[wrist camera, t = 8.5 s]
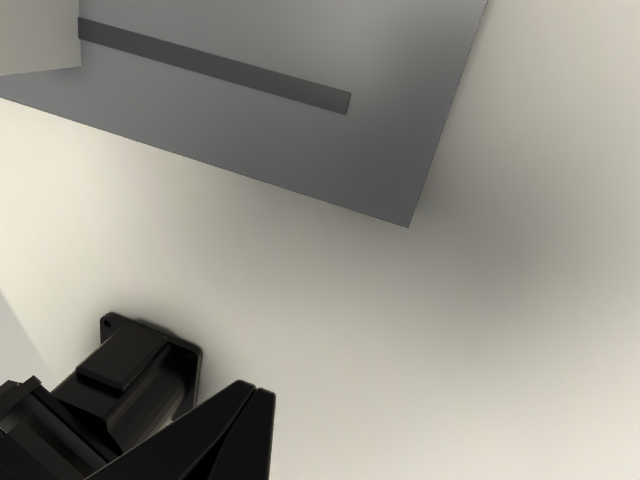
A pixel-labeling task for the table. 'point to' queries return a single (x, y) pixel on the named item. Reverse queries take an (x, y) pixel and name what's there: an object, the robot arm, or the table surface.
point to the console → (255, 84)
